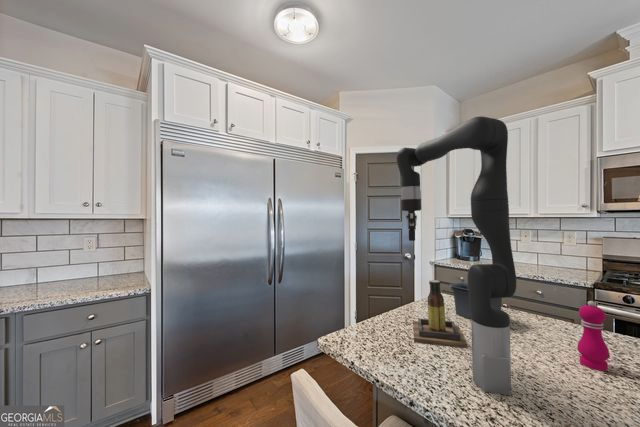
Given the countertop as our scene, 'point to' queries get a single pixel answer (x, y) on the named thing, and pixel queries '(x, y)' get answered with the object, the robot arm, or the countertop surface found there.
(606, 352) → the pepper mill
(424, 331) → the socket board
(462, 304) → the storage bin
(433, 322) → the sauce bottle
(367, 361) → the countertop surface
